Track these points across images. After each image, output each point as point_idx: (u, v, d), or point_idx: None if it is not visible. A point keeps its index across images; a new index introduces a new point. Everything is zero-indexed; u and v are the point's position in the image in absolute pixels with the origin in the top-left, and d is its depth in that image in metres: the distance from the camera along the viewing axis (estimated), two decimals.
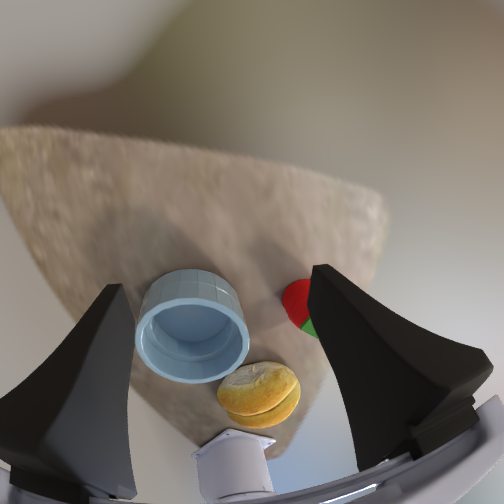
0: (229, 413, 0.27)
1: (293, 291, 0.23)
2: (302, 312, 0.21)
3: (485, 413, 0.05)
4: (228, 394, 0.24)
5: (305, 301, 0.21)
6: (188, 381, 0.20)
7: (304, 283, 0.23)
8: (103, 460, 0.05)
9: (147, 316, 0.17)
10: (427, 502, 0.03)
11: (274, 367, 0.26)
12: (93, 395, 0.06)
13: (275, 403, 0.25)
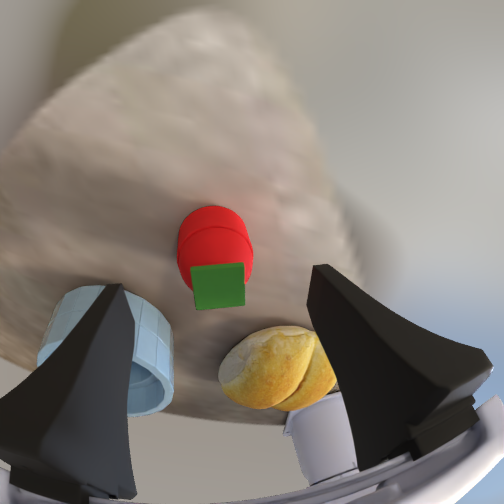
0: None
1: None
2: (187, 280, 0.12)
3: (485, 413, 0.05)
4: (228, 394, 0.18)
5: (182, 260, 0.12)
6: (147, 413, 0.15)
7: (186, 222, 0.13)
8: (103, 460, 0.05)
9: None
10: (427, 502, 0.03)
11: (261, 339, 0.17)
12: (93, 395, 0.06)
13: (291, 385, 0.17)
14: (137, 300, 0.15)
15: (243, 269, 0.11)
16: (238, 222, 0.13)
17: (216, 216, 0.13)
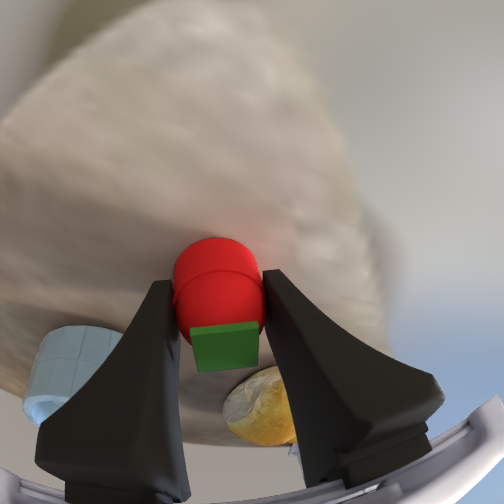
0: None
1: (173, 288, 0.11)
2: (186, 337, 0.09)
3: (485, 413, 0.05)
4: (234, 431, 0.16)
5: (178, 312, 0.09)
6: None
7: (183, 260, 0.10)
8: (170, 463, 0.05)
9: (33, 422, 0.10)
10: (427, 502, 0.03)
11: (272, 379, 0.15)
12: (159, 396, 0.06)
13: None
14: None
15: (257, 330, 0.08)
16: (248, 260, 0.11)
17: (220, 254, 0.10)
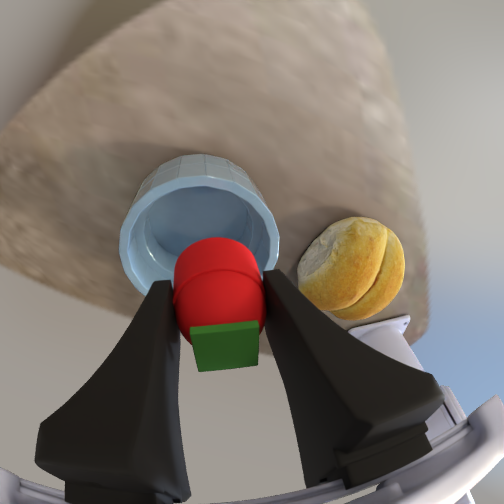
0: (332, 312, 0.23)
1: (173, 287, 0.11)
2: (186, 336, 0.09)
3: (485, 413, 0.05)
4: (310, 290, 0.19)
5: (178, 312, 0.09)
6: None
7: (183, 259, 0.10)
8: (170, 463, 0.05)
9: (123, 252, 0.13)
10: (427, 502, 0.03)
11: (344, 225, 0.19)
12: (159, 396, 0.06)
13: (373, 271, 0.18)
14: (241, 169, 0.16)
15: (257, 330, 0.08)
16: (248, 259, 0.11)
17: (221, 253, 0.10)
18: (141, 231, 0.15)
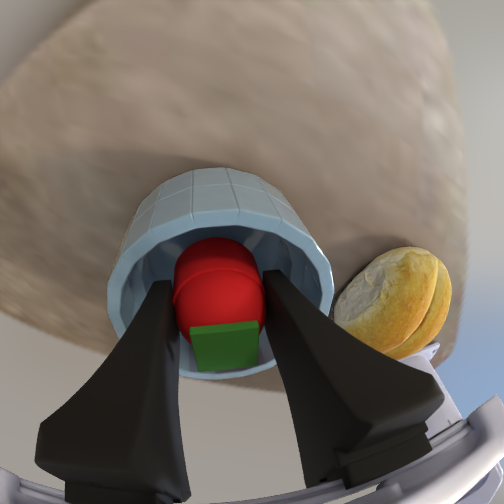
0: None
1: None
2: (186, 336, 0.09)
3: (485, 413, 0.05)
4: None
5: (178, 312, 0.09)
6: (267, 365, 0.12)
7: (183, 259, 0.10)
8: (170, 463, 0.05)
9: (113, 314, 0.09)
10: (427, 502, 0.03)
11: (395, 258, 0.14)
12: (159, 396, 0.06)
13: (424, 313, 0.14)
14: (276, 189, 0.11)
15: (257, 330, 0.08)
16: (248, 259, 0.11)
17: (220, 254, 0.10)
18: (138, 277, 0.11)
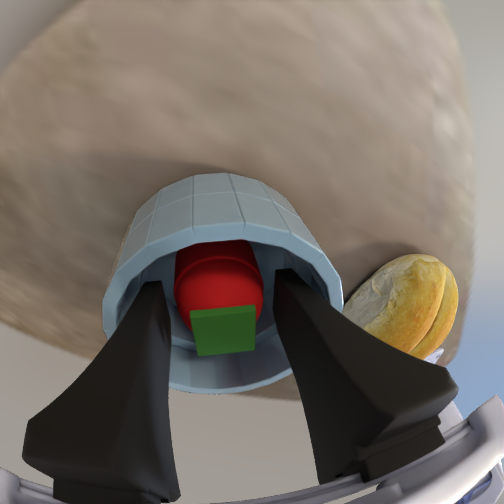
0: None
1: (174, 276, 0.11)
2: (186, 321, 0.10)
3: (485, 413, 0.05)
4: None
5: (179, 298, 0.10)
6: (272, 380, 0.11)
7: (184, 249, 0.11)
8: (157, 463, 0.05)
9: (110, 331, 0.08)
10: (427, 502, 0.03)
11: (403, 266, 0.14)
12: (146, 396, 0.06)
13: (431, 322, 0.13)
14: (282, 196, 0.11)
15: (254, 313, 0.09)
16: (246, 249, 0.11)
17: (220, 243, 0.10)
18: (136, 290, 0.10)
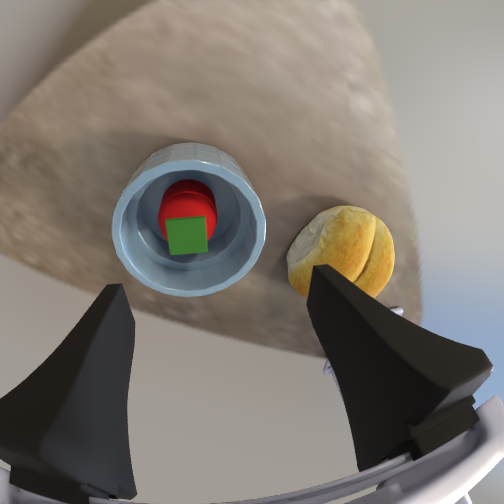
0: None
1: None
2: (164, 232, 0.15)
3: (485, 413, 0.05)
4: (298, 277, 0.20)
5: (161, 217, 0.15)
6: (224, 285, 0.17)
7: (166, 191, 0.16)
8: (103, 460, 0.05)
9: (115, 234, 0.14)
10: (427, 502, 0.03)
11: (333, 213, 0.19)
12: (93, 395, 0.06)
13: (361, 259, 0.19)
14: (230, 156, 0.16)
15: (204, 220, 0.14)
16: (206, 191, 0.16)
17: (189, 185, 0.16)
18: (134, 216, 0.15)
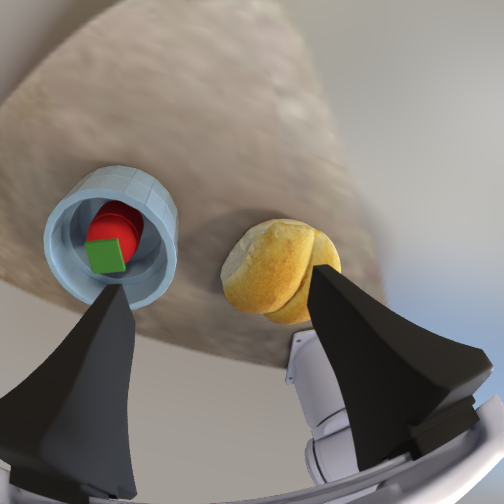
0: None
1: None
2: None
3: (485, 413, 0.05)
4: (230, 293, 0.20)
5: None
6: (146, 301, 0.16)
7: (97, 213, 0.16)
8: (103, 460, 0.05)
9: (47, 255, 0.14)
10: (427, 502, 0.03)
11: (263, 227, 0.19)
12: (93, 395, 0.06)
13: (293, 275, 0.19)
14: (150, 177, 0.16)
15: (116, 243, 0.14)
16: (129, 211, 0.16)
17: (112, 207, 0.16)
18: (67, 236, 0.15)
